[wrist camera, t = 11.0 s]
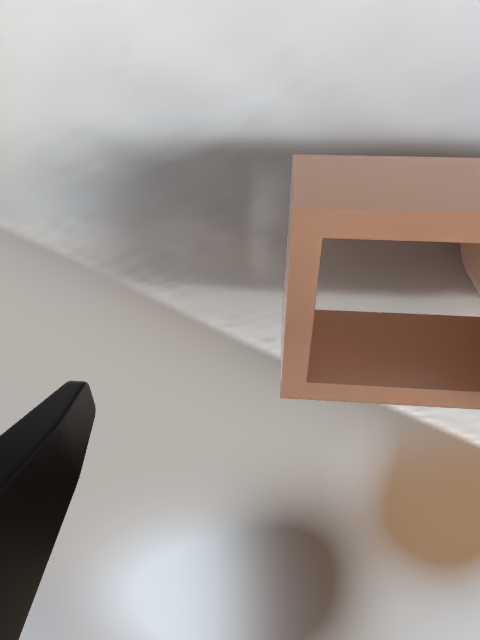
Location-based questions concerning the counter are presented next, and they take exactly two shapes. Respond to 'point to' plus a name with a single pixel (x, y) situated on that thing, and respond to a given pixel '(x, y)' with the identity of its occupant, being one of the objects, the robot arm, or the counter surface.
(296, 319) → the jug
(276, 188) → the counter surface
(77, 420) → the robot arm
